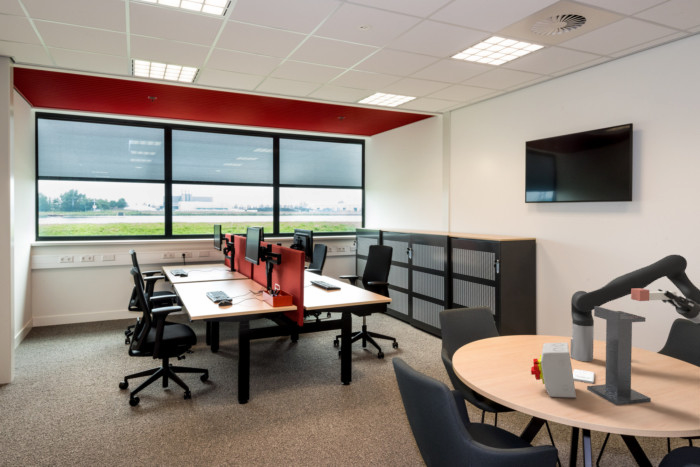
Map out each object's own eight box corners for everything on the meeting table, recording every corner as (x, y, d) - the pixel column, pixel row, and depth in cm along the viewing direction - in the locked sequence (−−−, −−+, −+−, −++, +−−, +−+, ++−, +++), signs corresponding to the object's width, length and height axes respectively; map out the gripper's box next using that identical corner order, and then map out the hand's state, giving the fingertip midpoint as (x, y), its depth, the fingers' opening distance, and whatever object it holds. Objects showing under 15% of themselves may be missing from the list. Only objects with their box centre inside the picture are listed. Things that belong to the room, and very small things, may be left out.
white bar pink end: (668, 297, 183) (668, 287, 182) (677, 299, 178) (678, 288, 178) (631, 299, 180) (631, 288, 180) (639, 301, 175) (640, 290, 175)
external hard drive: (594, 375, 192) (593, 385, 182) (573, 372, 197) (571, 381, 186) (594, 372, 192) (593, 381, 182) (573, 368, 197) (571, 377, 186)
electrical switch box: (536, 386, 184) (528, 340, 185) (574, 387, 178) (567, 339, 178) (534, 400, 171) (526, 350, 172) (576, 401, 165) (568, 349, 165)
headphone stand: (619, 386, 178) (620, 303, 177) (650, 402, 164) (652, 311, 162) (587, 389, 176) (588, 305, 174) (616, 405, 161) (617, 313, 159)
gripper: (680, 300, 189) (651, 281, 187) (712, 306, 175) (681, 286, 173) (672, 315, 189) (643, 296, 186) (704, 322, 175) (672, 303, 172)
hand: (661, 291), depth 179 cm, fingers closed on white bar pink end, 3 cm apart
